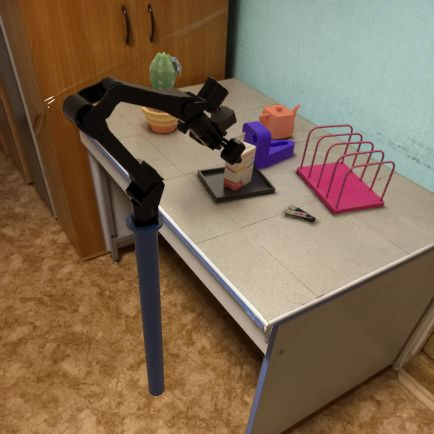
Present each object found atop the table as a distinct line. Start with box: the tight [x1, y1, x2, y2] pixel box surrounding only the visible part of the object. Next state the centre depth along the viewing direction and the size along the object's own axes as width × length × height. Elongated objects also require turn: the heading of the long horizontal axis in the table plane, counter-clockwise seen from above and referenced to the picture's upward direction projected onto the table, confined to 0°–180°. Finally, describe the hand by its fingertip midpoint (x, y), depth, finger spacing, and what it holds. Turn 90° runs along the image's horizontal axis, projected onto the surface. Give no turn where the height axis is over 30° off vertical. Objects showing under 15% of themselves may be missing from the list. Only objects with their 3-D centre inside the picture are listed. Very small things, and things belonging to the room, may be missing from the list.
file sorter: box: [295, 123, 396, 215], centre depth 128 cm, size 17×25×16 cm
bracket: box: [241, 120, 296, 170], centre depth 141 cm, size 18×11×12 cm, turn 115°
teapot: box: [258, 104, 302, 140], centre depth 155 cm, size 12×18×10 cm, turn 118°
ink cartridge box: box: [223, 132, 256, 191], centre depth 126 cm, size 9×5×15 cm, turn 142°
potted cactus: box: [140, 51, 183, 134], centre depth 147 cm, size 15×15×25 cm
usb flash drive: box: [284, 204, 317, 224], centre depth 121 cm, size 9×5×1 cm, turn 43°
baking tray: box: [197, 163, 276, 204], centre depth 131 cm, size 19×16×2 cm
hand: (230, 155), depth 123 cm, fingers open, 9 cm apart
